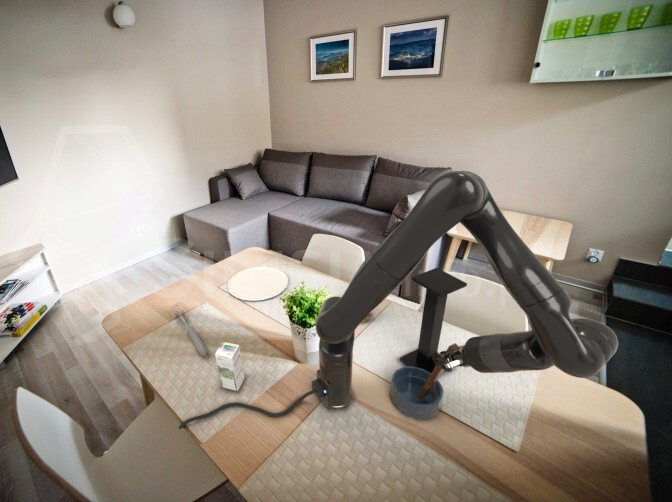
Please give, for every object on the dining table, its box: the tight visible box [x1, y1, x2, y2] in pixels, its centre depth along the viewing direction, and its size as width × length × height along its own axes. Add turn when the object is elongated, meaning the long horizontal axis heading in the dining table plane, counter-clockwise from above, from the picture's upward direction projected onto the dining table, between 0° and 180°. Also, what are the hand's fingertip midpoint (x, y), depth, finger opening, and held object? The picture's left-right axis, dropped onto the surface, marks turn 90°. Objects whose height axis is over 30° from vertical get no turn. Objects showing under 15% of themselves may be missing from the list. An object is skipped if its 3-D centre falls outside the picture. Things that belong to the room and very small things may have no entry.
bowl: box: [389, 366, 444, 420], centre depth 93 cm, size 13×13×6 cm
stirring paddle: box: [418, 342, 460, 399], centre depth 85 cm, size 4×24×1 cm
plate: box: [227, 265, 289, 302], centre depth 155 cm, size 29×29×1 cm
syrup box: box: [214, 341, 245, 392], centre depth 101 cm, size 6×6×14 cm
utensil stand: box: [399, 267, 468, 373], centre depth 99 cm, size 12×10×32 cm
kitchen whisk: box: [170, 301, 208, 359], centre depth 126 cm, size 6×34×6 cm, turn 32°
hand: (438, 357), depth 84 cm, fingers closed on stirring paddle
